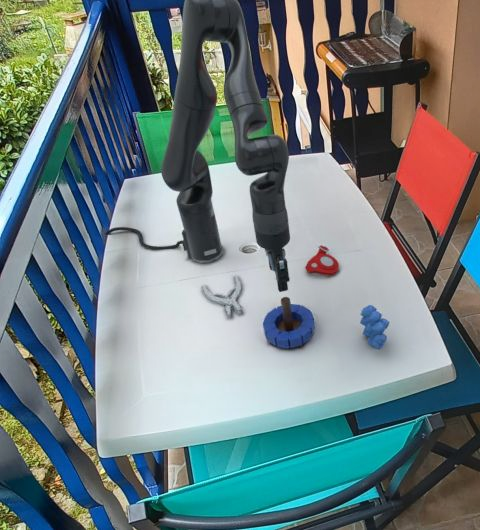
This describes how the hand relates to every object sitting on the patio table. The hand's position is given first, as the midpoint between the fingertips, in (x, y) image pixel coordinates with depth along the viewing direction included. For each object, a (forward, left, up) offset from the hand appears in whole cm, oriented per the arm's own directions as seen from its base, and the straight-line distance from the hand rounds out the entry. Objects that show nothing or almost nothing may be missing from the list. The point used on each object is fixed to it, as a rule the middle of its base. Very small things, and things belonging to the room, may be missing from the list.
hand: (278, 279), depth 119 cm
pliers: (-17, +6, -14) cm, 23 cm away
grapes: (+25, -4, -14) cm, 29 cm away
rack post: (+3, -4, -14) cm, 15 cm away
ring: (+2, -4, -13) cm, 14 cm away
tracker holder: (+6, +24, -14) cm, 28 cm away
